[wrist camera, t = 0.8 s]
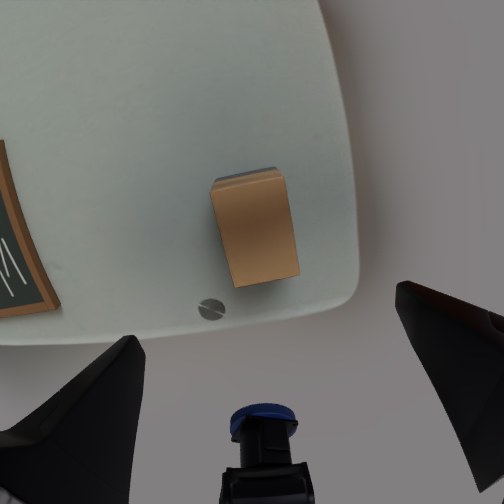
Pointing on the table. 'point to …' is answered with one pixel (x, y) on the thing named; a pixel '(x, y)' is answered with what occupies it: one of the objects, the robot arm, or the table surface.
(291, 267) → the eraser
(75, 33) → the table surface
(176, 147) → the table surface
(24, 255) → the chalkboard
